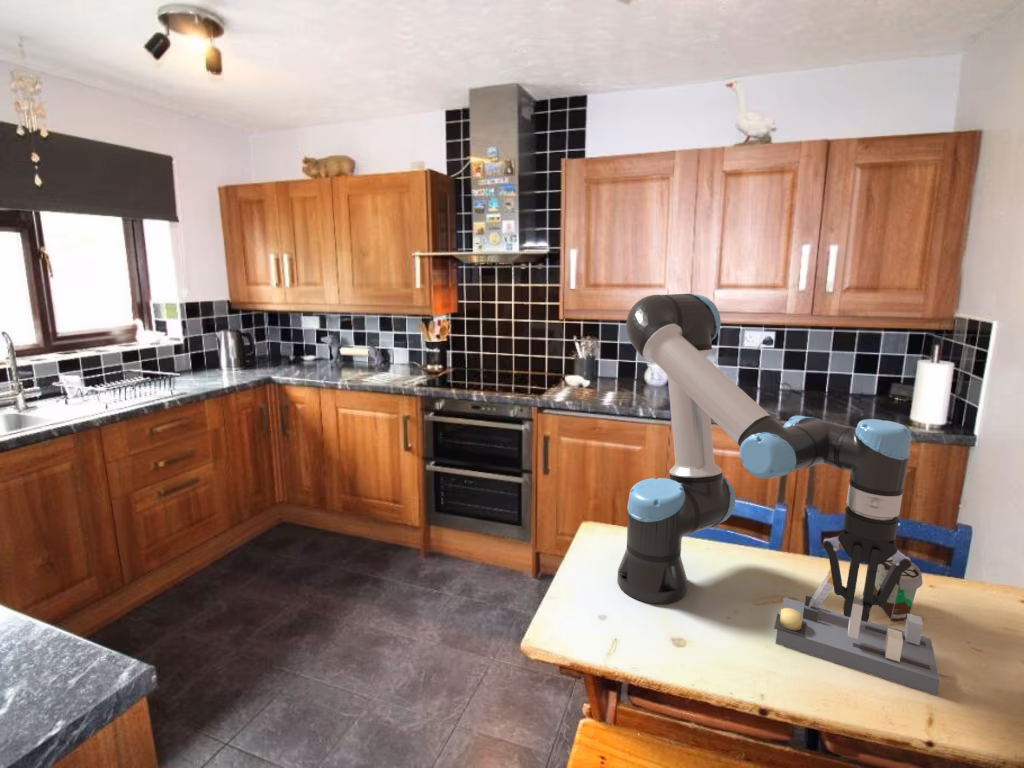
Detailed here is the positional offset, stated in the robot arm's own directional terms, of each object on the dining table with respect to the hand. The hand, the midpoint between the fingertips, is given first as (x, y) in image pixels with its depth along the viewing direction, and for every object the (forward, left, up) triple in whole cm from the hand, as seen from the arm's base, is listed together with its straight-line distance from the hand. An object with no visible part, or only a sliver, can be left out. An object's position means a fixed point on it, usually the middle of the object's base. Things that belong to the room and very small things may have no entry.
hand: (852, 633), depth 95 cm
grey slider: (+9, +7, -2) cm, 12 cm away
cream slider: (+6, 0, -2) cm, 6 cm away
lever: (-7, +6, -1) cm, 9 cm away
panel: (0, +3, -5) cm, 6 cm away
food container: (+8, +22, -5) cm, 24 cm away
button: (-10, 0, -2) cm, 10 cm away
